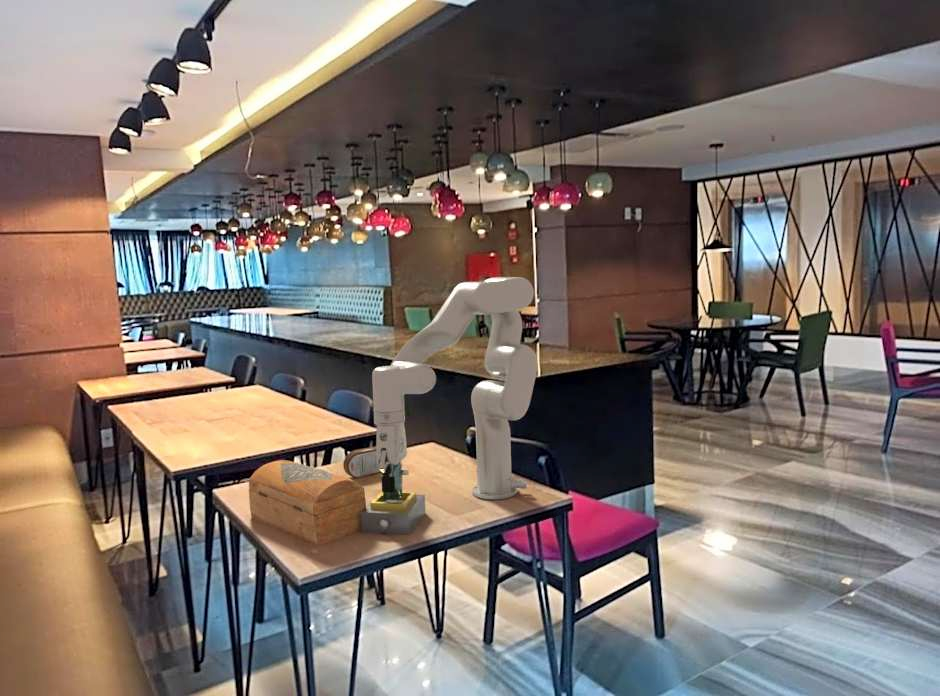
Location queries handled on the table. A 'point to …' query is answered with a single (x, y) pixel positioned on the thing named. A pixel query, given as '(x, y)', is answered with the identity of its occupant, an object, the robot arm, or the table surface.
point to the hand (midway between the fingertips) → (392, 487)
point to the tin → (362, 462)
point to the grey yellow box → (393, 514)
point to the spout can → (396, 482)
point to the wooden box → (306, 501)
